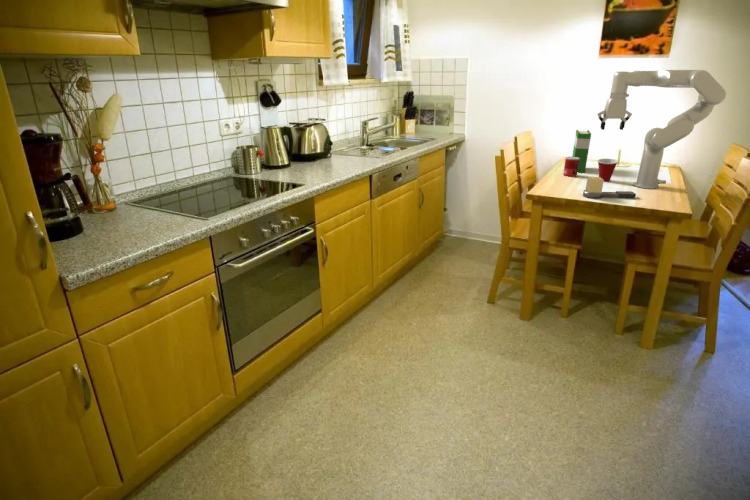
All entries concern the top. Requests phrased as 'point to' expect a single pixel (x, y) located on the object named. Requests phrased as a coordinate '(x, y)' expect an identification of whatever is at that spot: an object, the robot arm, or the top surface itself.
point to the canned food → (571, 166)
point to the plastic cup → (606, 168)
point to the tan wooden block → (594, 185)
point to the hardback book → (581, 148)
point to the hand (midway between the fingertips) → (611, 129)
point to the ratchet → (610, 194)
